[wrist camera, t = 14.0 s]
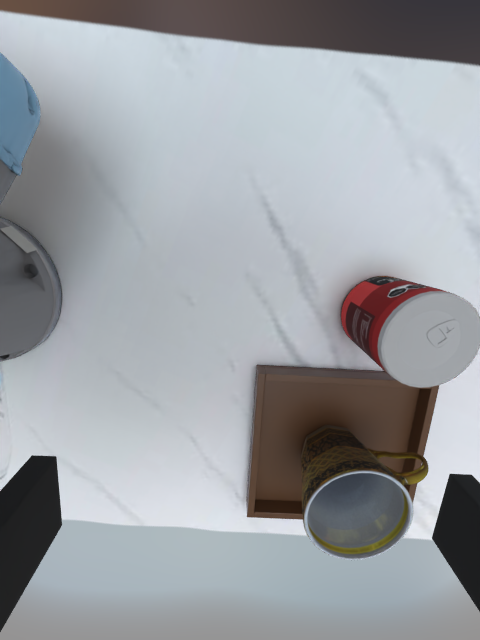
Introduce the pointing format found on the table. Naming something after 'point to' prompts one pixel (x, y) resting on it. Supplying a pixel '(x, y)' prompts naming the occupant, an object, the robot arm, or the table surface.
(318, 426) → the tray
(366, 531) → the ceramic cup
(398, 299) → the canned food
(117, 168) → the table surface
